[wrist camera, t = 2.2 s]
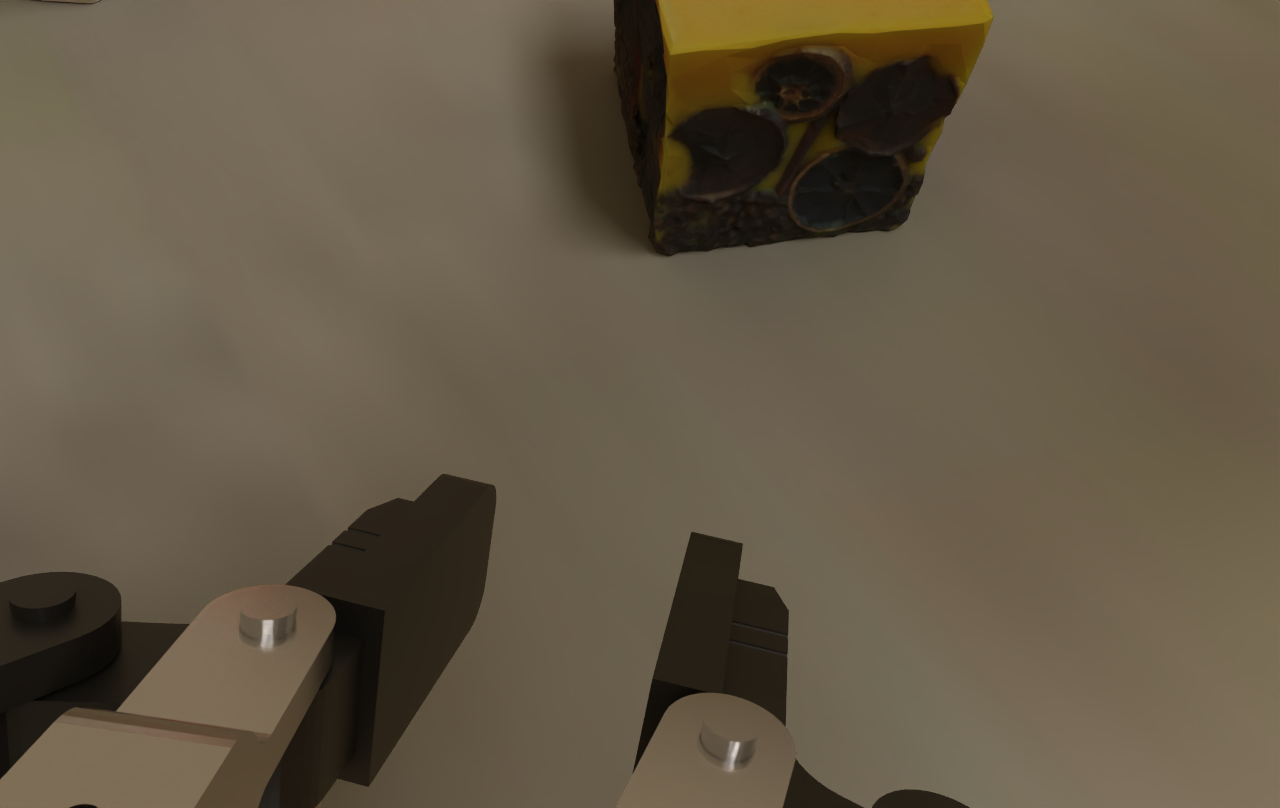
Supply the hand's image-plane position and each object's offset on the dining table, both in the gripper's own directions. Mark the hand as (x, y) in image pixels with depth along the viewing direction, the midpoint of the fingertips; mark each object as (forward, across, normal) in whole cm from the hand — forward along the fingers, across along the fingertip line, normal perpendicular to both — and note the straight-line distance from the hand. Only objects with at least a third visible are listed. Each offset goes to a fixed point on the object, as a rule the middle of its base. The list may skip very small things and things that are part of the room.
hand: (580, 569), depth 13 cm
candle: (+28, 0, -5) cm, 28 cm away
